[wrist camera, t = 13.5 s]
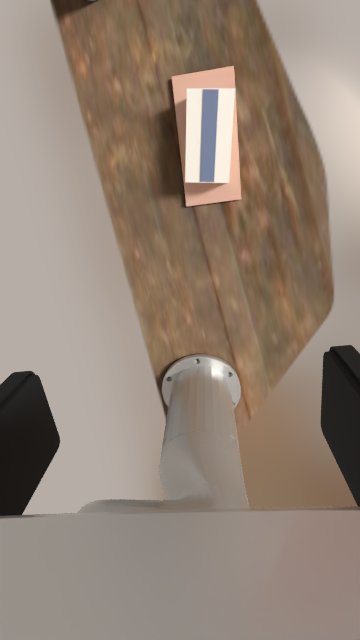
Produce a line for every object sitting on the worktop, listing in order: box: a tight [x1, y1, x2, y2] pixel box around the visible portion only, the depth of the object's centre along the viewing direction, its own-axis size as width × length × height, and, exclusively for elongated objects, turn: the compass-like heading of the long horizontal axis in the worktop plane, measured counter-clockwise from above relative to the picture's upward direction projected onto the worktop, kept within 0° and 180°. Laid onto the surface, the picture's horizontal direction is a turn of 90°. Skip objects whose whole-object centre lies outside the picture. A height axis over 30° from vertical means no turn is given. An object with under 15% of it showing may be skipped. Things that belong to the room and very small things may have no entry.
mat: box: [172, 66, 241, 206], centre depth 40 cm, size 14×7×1 cm, turn 7°
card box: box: [185, 88, 235, 183], centre depth 37 cm, size 5×9×4 cm, turn 179°
